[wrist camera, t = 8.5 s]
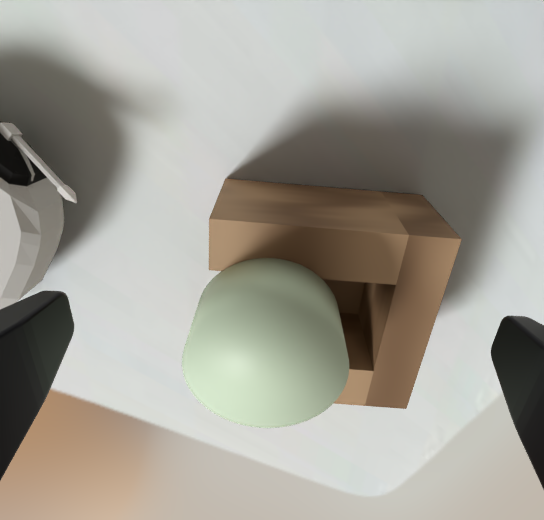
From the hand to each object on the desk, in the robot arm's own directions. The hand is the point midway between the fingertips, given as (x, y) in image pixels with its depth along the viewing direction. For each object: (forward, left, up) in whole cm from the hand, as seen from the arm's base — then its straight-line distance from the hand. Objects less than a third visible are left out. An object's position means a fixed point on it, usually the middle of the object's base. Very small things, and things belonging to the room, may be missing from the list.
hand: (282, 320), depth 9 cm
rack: (-2, +5, -12) cm, 14 cm away
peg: (0, +5, -10) cm, 12 cm away
